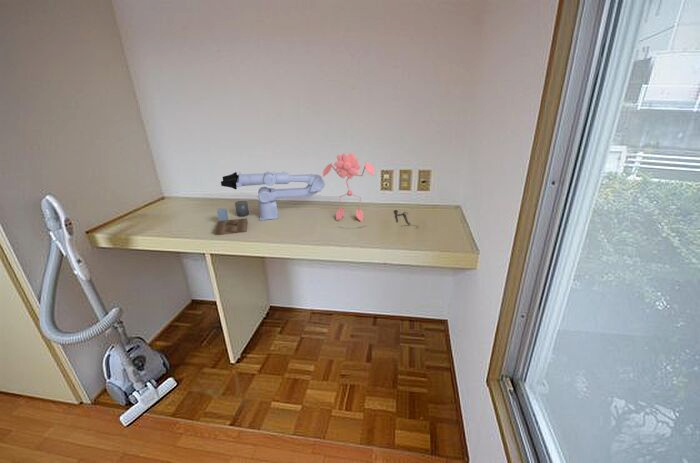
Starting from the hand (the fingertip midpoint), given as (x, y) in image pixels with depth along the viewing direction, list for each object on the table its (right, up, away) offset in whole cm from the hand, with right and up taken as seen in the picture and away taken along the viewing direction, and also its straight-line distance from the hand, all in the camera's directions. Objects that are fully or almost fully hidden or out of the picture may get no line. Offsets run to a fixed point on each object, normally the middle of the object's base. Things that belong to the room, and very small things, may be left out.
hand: (222, 181), depth 159 cm
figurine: (+63, -21, +3) cm, 66 cm away
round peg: (+5, -16, +17) cm, 24 cm away
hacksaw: (+92, -19, +6) cm, 94 cm away
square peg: (-2, -20, +7) cm, 22 cm away
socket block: (+5, -24, -1) cm, 24 cm away
